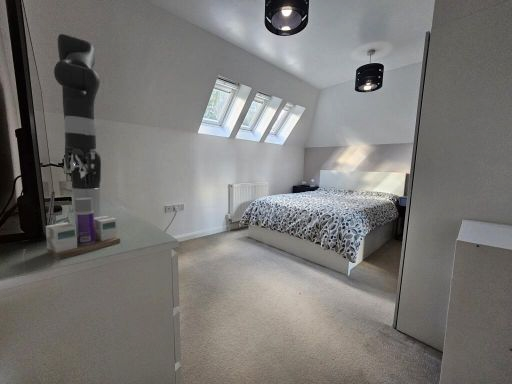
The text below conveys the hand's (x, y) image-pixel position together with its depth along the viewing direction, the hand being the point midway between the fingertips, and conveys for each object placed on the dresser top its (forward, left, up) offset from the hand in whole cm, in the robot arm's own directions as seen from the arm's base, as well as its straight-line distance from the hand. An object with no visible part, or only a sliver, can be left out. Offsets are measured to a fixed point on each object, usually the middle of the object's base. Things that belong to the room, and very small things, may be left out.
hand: (83, 184), depth 69 cm
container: (0, 0, -20) cm, 20 cm away
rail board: (0, 0, -21) cm, 21 cm away
